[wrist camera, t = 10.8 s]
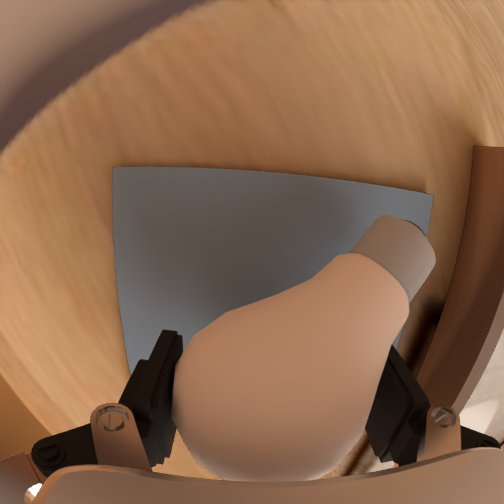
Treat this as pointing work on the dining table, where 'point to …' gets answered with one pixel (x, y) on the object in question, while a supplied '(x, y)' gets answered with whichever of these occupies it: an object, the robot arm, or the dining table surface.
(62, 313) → the dining table surface
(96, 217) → the dining table surface
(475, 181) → the low wall
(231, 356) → the light bulb
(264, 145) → the dining table surface
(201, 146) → the dining table surface
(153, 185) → the mat
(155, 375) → the robot arm
